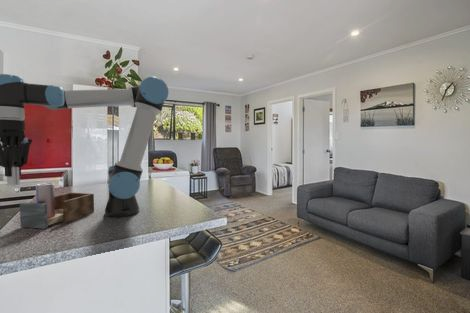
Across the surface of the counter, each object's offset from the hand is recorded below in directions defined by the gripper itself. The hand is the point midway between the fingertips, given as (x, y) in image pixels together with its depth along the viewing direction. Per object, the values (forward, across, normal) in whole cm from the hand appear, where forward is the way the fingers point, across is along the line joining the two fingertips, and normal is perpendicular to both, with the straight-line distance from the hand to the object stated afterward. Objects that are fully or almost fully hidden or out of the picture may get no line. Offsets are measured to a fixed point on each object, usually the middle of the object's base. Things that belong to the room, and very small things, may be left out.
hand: (13, 184), depth 88 cm
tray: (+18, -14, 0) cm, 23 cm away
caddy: (+18, -23, 0) cm, 29 cm away
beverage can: (+17, -12, 0) cm, 21 cm away
